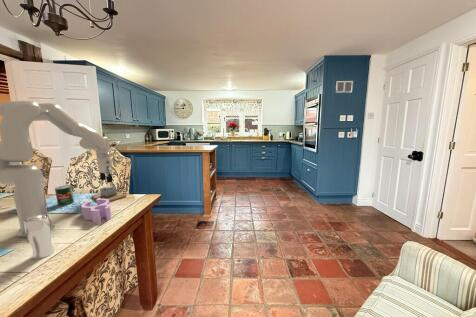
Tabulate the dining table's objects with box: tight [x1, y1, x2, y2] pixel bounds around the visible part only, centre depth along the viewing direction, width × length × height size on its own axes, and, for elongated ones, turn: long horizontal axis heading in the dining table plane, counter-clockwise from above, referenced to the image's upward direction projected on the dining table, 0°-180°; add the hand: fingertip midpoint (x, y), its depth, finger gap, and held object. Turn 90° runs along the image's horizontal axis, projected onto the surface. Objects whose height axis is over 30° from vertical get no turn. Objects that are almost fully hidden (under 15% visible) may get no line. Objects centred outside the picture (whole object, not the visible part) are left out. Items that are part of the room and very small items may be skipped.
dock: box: [91, 185, 127, 203], centre depth 135 cm, size 18×14×8 cm
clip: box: [80, 198, 112, 224], centre depth 108 cm, size 20×12×7 cm, turn 48°
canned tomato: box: [54, 184, 75, 207], centre depth 126 cm, size 8×8×11 cm
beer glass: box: [24, 214, 55, 260], centre depth 76 cm, size 7×7×15 cm
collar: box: [99, 186, 118, 198], centre depth 135 cm, size 7×7×5 cm
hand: (106, 181), depth 133 cm, fingers open, 9 cm apart
